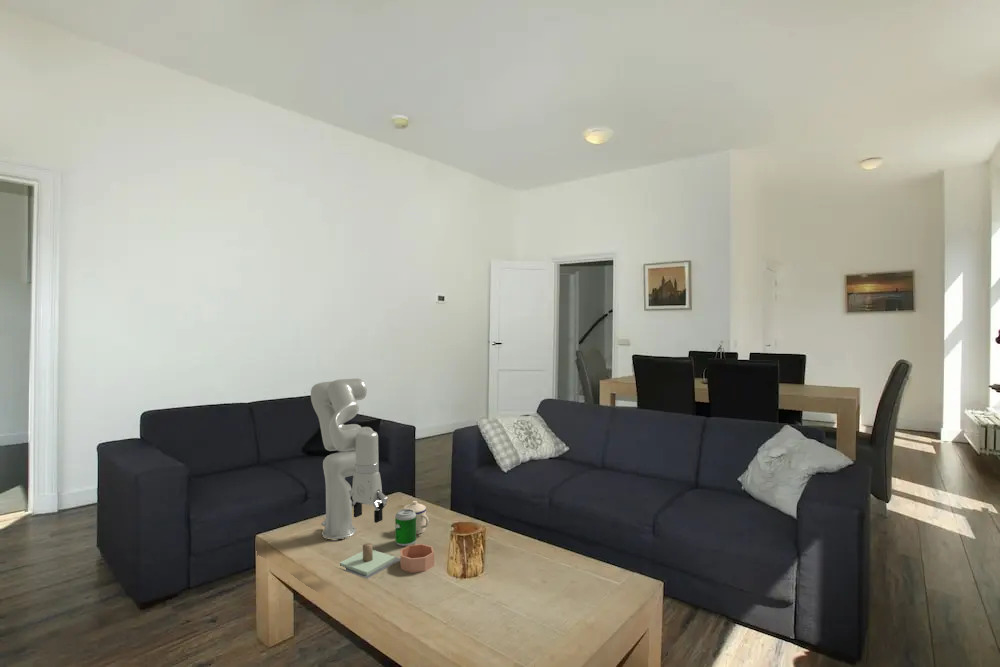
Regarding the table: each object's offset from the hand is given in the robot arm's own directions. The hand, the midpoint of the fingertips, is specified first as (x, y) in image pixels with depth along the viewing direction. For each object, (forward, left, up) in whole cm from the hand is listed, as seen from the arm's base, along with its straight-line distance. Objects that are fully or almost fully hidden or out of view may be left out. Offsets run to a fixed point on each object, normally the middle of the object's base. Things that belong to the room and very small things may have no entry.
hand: (368, 518), depth 177 cm
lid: (-1, 0, -15) cm, 15 cm away
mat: (-1, 0, -16) cm, 16 cm away
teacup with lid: (-5, +30, -16) cm, 35 cm away
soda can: (-1, +19, -16) cm, 25 cm away
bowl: (+14, +8, -16) cm, 23 cm away
